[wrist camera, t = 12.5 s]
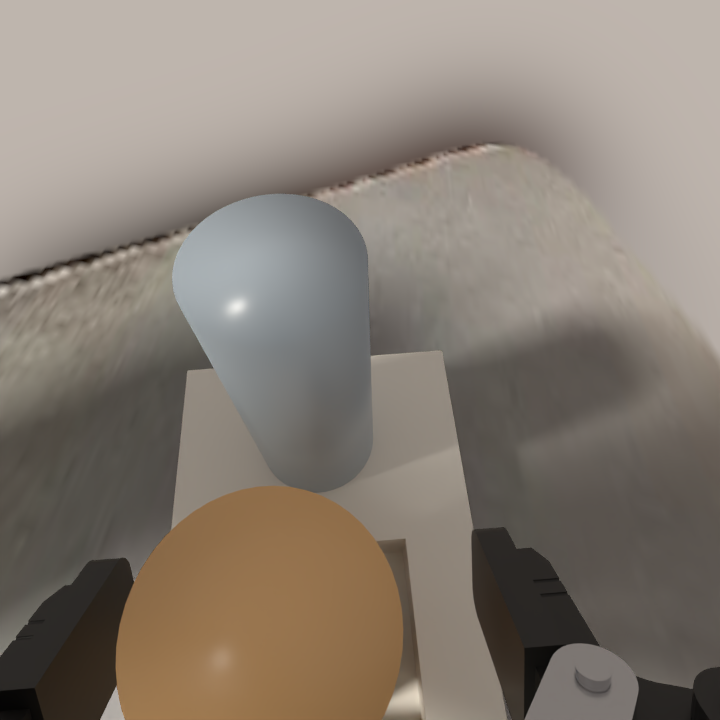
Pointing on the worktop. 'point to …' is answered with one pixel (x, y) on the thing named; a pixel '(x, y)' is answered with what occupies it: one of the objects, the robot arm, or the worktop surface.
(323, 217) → the housing
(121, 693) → the tan round-top capsule
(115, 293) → the worktop surface
